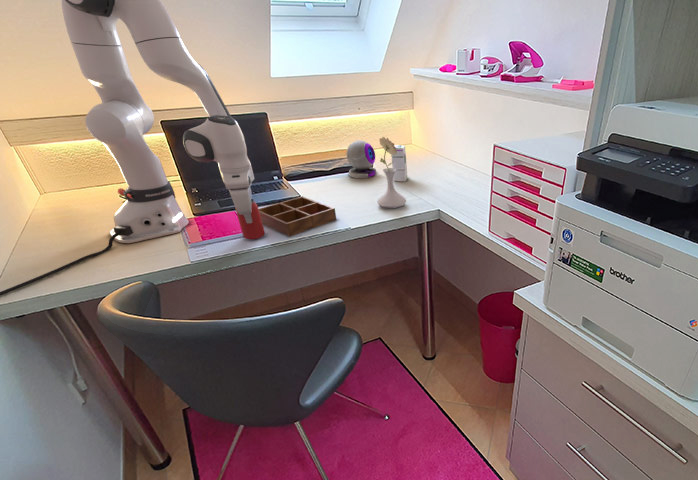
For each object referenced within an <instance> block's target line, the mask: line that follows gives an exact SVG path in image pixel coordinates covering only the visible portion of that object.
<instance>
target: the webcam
mask: <svg viewBox="0 0 698 480" xmlns="http://www.w3.org/2000/svg"><path fill="white" fill-rule="evenodd" d="M346 160H347V162H348V163H349V165H350V166H351V167H352V168H350V169H349V171H348V175H349V176H350V177H352V178H356V179H368V178H371V177H373V176H375V175H376V173H377V169H376V168H374V167H373V165H374V164H375V162H376V152H375V149H374V147H373V146H372V144H370V143H369V142H368V141H365V140H361V139H360V140H359V139H358V140H355V141H353V142H351V143H350V144H349V145H348V146H347V149H346Z"/></svg>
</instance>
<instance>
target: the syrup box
mask: <svg viewBox="0 0 698 480" xmlns="http://www.w3.org/2000/svg"><path fill="white" fill-rule="evenodd" d="M394 146H395V147H396V149H397V152H396V153H397V154H396V155H391V154H390V155H391V156H390V158H391V163H392V162H393V161H394V162H393V163H392V164H391V168H393V169H396V171H395V173H394V177H393V182H407V179H408V167H407V166H408V165H407V153H406V145H402V144H394Z"/></svg>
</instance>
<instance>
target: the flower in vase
mask: <svg viewBox="0 0 698 480" xmlns="http://www.w3.org/2000/svg"><path fill="white" fill-rule="evenodd" d="M378 140H379V144H380V146H381V147H382V149H383V150H384V155H383V158H382V157H380V160H379V162H380V163H382V164H383V165H385V166H386V168H383V169H382V171H383V173H384V175H385V177H386V181H387V189H386V191H384V192H383V193H382V194H381V195H380V196H379V197H378V198H377V205H379V206H380V207H383V208H387V209H394V208H395V209H396V208H400V207H402V206H405V204H406V203H407V199H406V197H405V196H404V195H403V194H401V193H400V192H398V191H397V190H396V189H395V185H394V180H393V177H394V173H395V171H396V169H393V168H392V167H389V166H390V165H391V166H392V163H393V162H394V161H393V162H392V161H391V162H390V163H389V164H387V162H386V154H387V153H388V154H389V155H396V154H397V153H396V152H397V149H396V147H395V146H394V145H395V143H394V142H392V140H390V139H389V137H385V136H382V137H380V138H379V139H378Z"/></svg>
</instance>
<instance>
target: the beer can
mask: <svg viewBox="0 0 698 480" xmlns="http://www.w3.org/2000/svg"><path fill="white" fill-rule="evenodd" d="M251 204H252V206H251V217H252V223H246V220H245V217H244V215H240V214H239V213H238V212H237V210H236V207H235V206H234V207H235V213H236V216H237V219H238V223H239V226H240V230H241V233H242V236H243V238H244V239H246V240H249V241H254V240H259V239H262V238H264V236H265V235H266V232H265V228H264V225H263V224H262V220H261V217H260V213H259V209H260V208H259V206H258V204H257V203H256V201H255V199H253V198H252V202H251Z"/></svg>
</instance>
